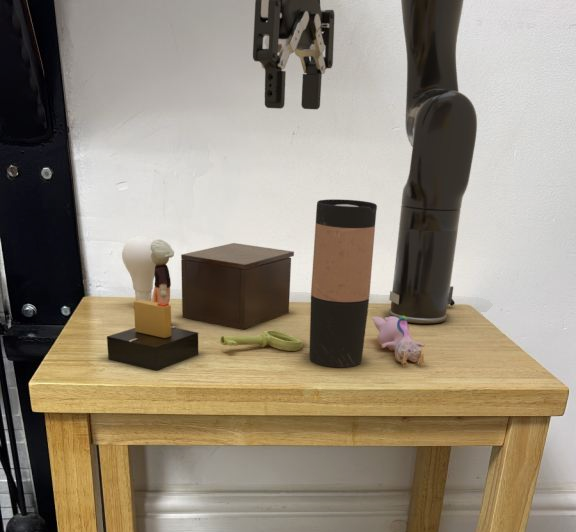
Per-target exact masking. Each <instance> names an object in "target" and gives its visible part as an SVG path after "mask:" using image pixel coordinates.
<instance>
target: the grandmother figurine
mask: <svg viewBox="0 0 576 532" xmlns="http://www.w3.org/2000/svg"><path fill="white" fill-rule="evenodd" d="M151 251H152V253H151V259H152V261H153V262H154V263H155V264H156V266H155V272H154V275H155V276H154V286H153V290H152V296H151V302H155V303H162V302H164V303H169V304H170V299H171V286H172V282H171V275H170V270H169V266H168V265H167V264H168V263H169V260H170V258H173V257H174V255H175V251H174V250H173V249H172V246H171V244H169V243H168V242H167V241H166V240H163V239H160V238H159V239H154V240H153V242H152V244H151ZM172 326H173V323H171V327H172Z"/></svg>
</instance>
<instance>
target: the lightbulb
mask: <svg viewBox="0 0 576 532" xmlns="http://www.w3.org/2000/svg"><path fill="white" fill-rule="evenodd" d="M153 241H154V240H153V239H151V238H150V237H148V236H144V235H137V236H133V237H132V238H130V239H128V240H127V242H126V243H125V244H124V246H123V248H122V252H121V257H122V262H123V264H124V266H125V269H126V271H127V272H128V273H129V276H130V277H131V282H132V288H133V291H134V298H135V301H137V300H145V301H150V302H152V296H153V290H154V281H155V275H154V272H155V266H156V264H155V263H154V262H153V261H152V259H151V253H152V251H151V244H152V242H153Z"/></svg>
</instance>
